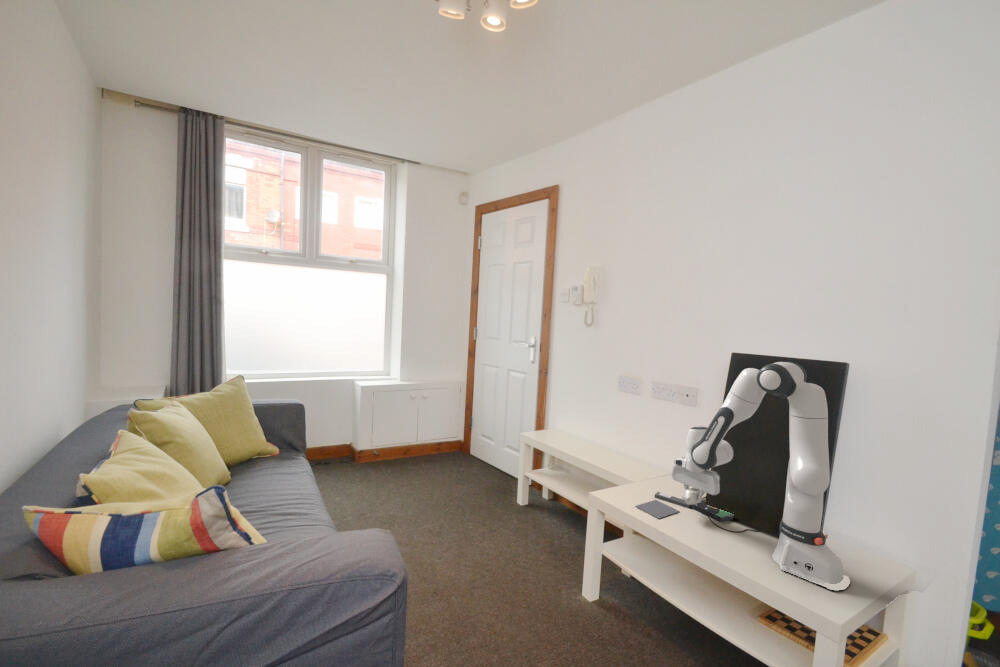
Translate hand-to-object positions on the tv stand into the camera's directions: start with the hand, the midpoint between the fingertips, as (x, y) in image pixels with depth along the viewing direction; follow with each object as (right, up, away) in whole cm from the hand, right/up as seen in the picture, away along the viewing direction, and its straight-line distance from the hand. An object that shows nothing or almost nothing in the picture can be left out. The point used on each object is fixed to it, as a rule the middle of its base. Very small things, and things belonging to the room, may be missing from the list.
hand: (693, 497), depth 192 cm
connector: (-1, -2, 0) cm, 2 cm away
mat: (-14, -7, +5) cm, 16 cm away
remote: (-3, -7, +14) cm, 16 cm away
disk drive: (+10, -9, +5) cm, 15 cm away
